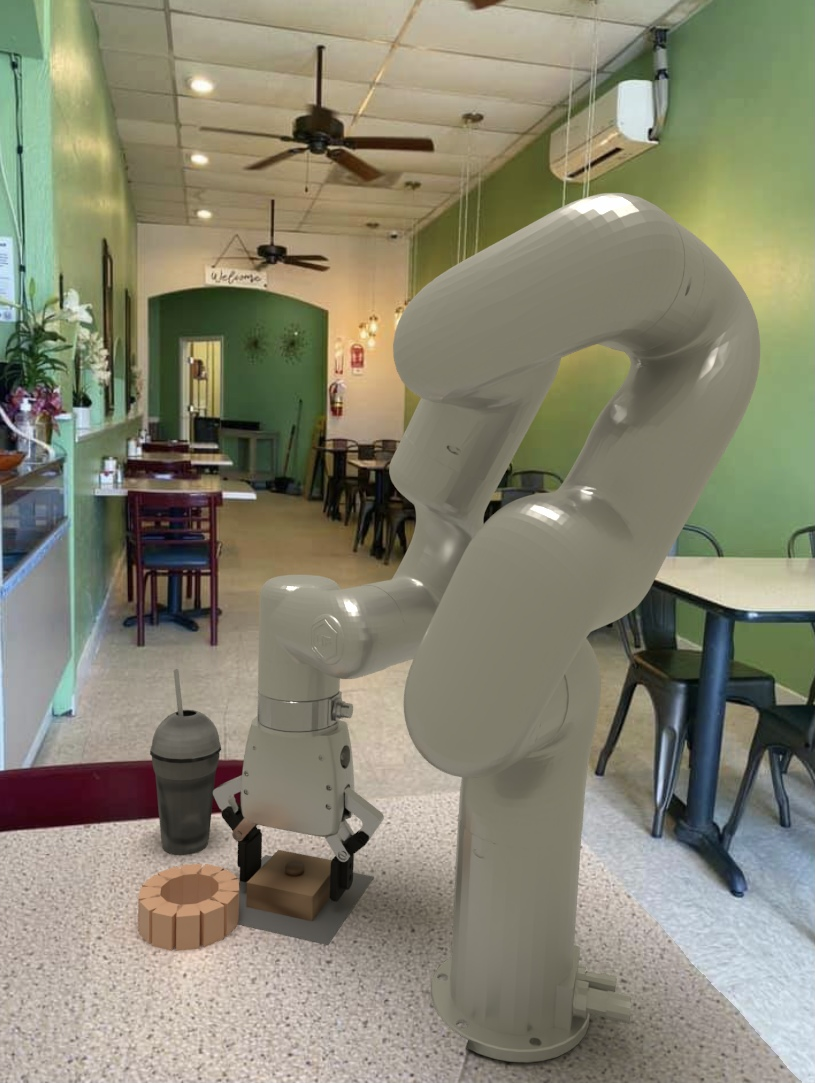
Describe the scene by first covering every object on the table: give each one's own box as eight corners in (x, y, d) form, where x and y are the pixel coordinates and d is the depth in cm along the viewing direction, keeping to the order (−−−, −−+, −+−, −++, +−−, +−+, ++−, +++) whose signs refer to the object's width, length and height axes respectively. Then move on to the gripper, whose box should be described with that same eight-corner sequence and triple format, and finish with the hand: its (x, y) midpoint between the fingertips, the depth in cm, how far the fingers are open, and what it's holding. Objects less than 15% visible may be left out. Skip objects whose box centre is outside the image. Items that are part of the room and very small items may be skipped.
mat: (373, 886, 82) (374, 876, 82) (327, 955, 71) (328, 944, 71) (265, 864, 86) (266, 855, 85) (205, 926, 74) (205, 916, 74)
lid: (339, 884, 80) (339, 855, 80) (311, 921, 74) (312, 890, 74) (277, 872, 82) (278, 843, 82) (246, 906, 76) (246, 876, 75)
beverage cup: (201, 874, 83) (203, 683, 81) (136, 865, 84) (136, 676, 82) (231, 841, 90) (233, 664, 88) (170, 833, 91) (171, 658, 89)
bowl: (255, 914, 76) (255, 874, 76) (206, 969, 68) (206, 925, 68) (174, 896, 79) (174, 857, 78) (118, 947, 71) (118, 904, 70)
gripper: (399, 709, 77) (392, 882, 79) (234, 686, 82) (232, 850, 84) (373, 735, 70) (366, 924, 72) (194, 708, 75) (192, 886, 77)
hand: (294, 884), depth 78 cm, fingers open, 8 cm apart
